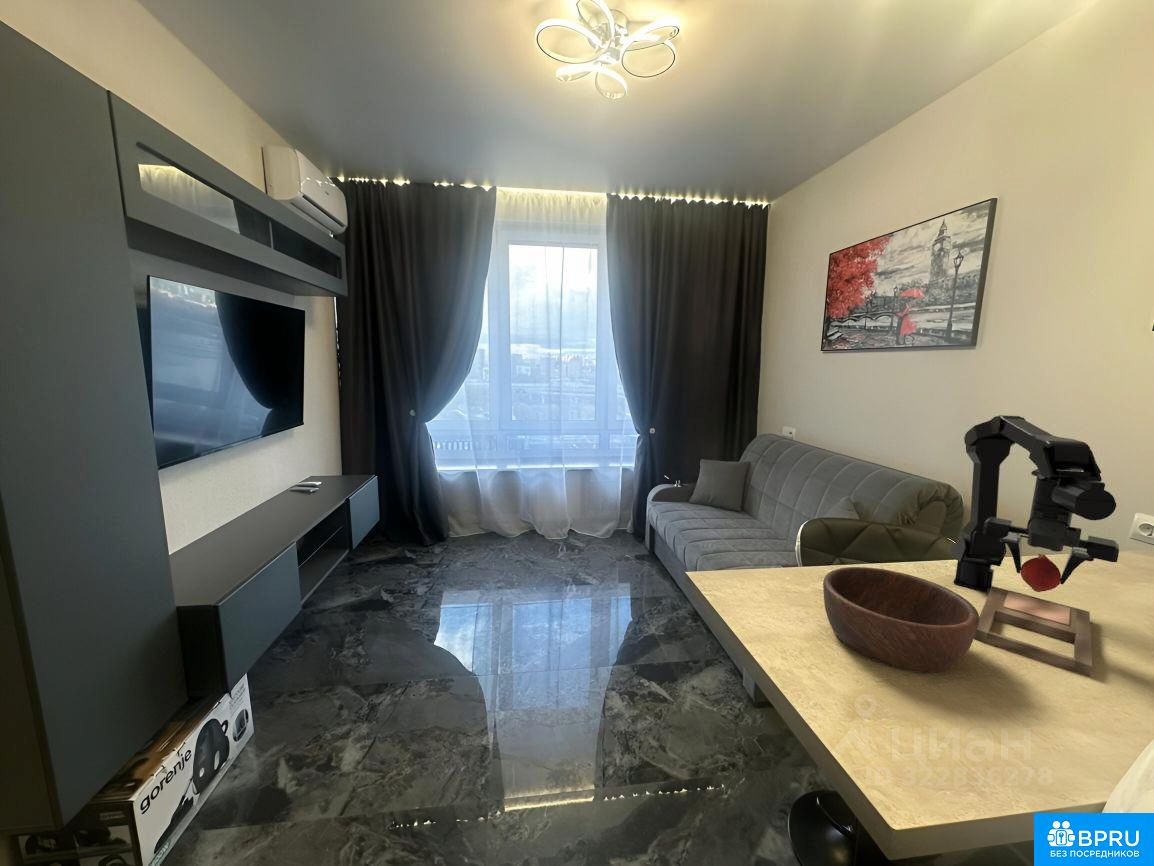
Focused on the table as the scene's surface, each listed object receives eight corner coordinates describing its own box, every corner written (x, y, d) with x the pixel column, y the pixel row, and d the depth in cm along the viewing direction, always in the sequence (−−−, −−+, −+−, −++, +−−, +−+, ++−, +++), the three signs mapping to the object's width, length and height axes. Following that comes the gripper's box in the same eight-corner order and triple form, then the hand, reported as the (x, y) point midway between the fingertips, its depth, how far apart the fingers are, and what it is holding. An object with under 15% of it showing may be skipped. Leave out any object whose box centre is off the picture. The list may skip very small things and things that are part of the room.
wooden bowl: (841, 598, 110) (845, 556, 109) (980, 643, 93) (987, 594, 91) (800, 640, 93) (804, 591, 91) (961, 706, 75) (970, 646, 74)
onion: (1047, 587, 97) (1054, 550, 95) (1064, 601, 91) (1072, 562, 90) (1012, 582, 99) (1018, 546, 97) (1027, 595, 93) (1033, 557, 92)
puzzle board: (973, 638, 94) (974, 627, 94) (990, 593, 113) (992, 584, 113) (1090, 676, 83) (1092, 664, 83) (1088, 620, 102) (1089, 610, 102)
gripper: (984, 500, 94) (973, 574, 96) (1127, 525, 80) (1109, 610, 82) (992, 490, 101) (981, 559, 103) (1124, 511, 87) (1108, 590, 90)
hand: (1039, 578), depth 95 cm, fingers closed on onion, 6 cm apart
